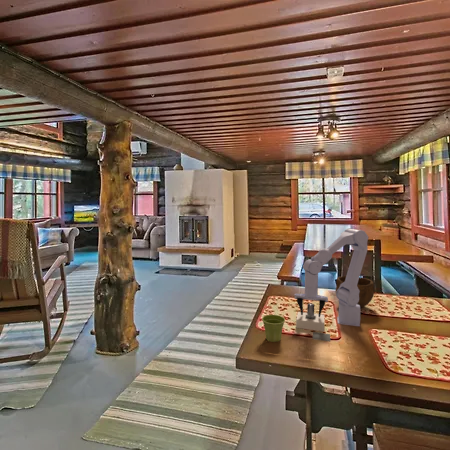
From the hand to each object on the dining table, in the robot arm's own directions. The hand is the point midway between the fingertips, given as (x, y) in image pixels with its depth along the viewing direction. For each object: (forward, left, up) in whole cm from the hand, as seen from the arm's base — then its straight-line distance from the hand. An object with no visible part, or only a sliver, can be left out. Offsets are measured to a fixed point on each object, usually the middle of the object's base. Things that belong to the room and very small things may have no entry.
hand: (310, 315), depth 139 cm
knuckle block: (0, 0, -5) cm, 5 cm away
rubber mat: (-5, +10, -5) cm, 13 cm away
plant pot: (+14, +18, -5) cm, 24 cm away
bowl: (-21, -32, -5) cm, 39 cm away
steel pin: (0, 0, -5) cm, 5 cm away
